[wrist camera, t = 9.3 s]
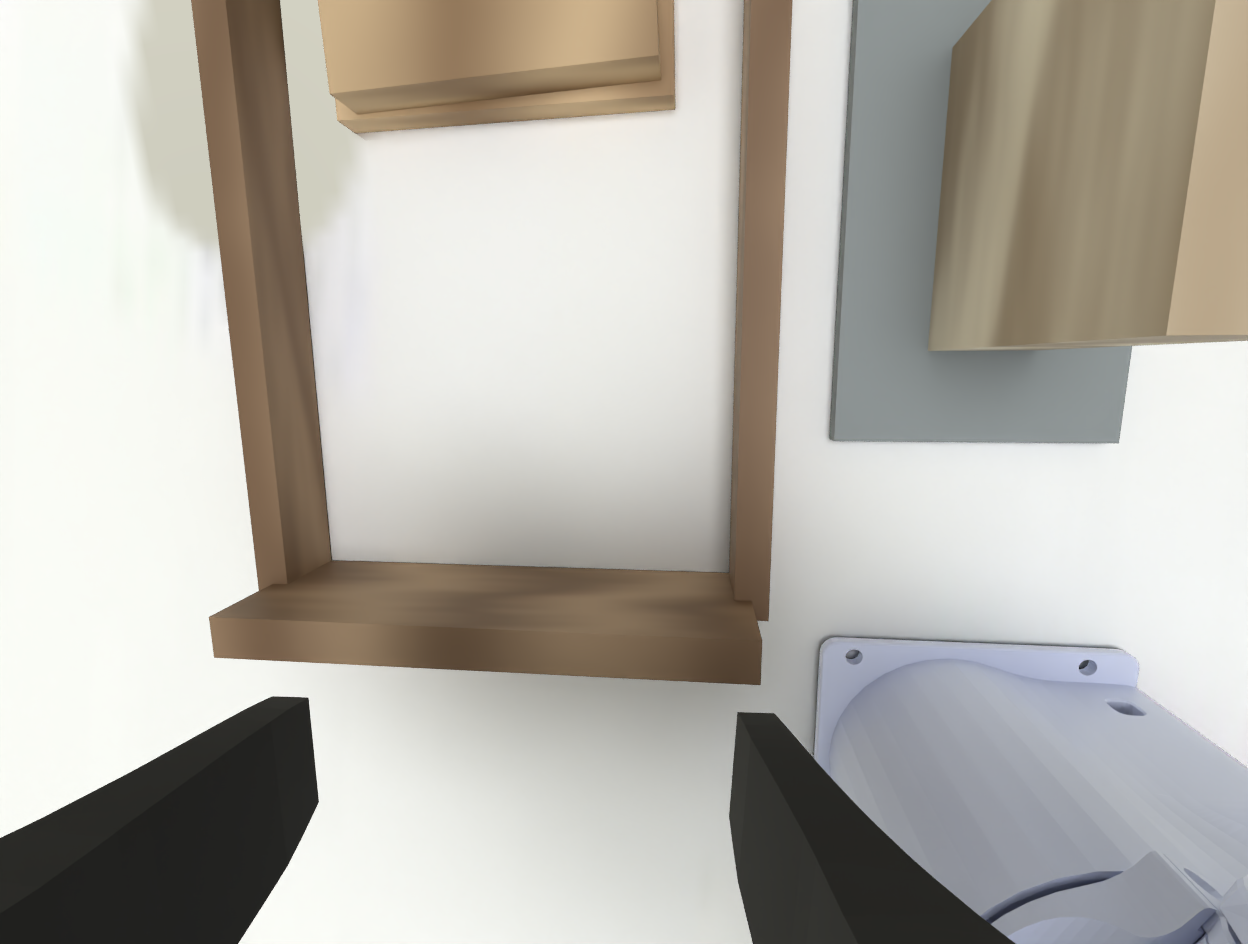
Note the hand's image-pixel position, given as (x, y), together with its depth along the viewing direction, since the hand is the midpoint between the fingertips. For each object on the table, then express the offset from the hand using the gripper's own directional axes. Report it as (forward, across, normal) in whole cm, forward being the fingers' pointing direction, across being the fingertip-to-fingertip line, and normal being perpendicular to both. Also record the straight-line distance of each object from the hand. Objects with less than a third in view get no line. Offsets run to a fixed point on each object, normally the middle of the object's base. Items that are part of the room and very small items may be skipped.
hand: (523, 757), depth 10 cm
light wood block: (+9, -12, -11) cm, 18 cm away
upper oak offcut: (+11, +2, -15) cm, 19 cm away
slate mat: (+10, -12, -10) cm, 19 cm away
